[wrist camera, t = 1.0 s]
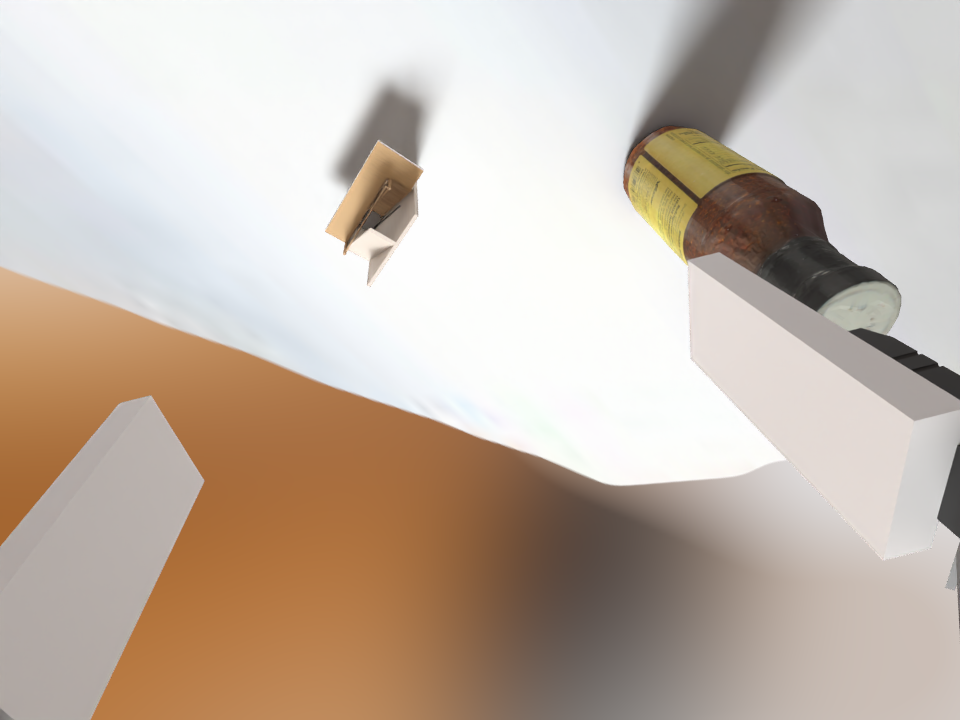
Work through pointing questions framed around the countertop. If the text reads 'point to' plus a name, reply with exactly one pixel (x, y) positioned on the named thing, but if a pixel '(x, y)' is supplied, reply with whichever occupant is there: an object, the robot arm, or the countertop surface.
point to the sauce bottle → (751, 226)
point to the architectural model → (378, 207)
